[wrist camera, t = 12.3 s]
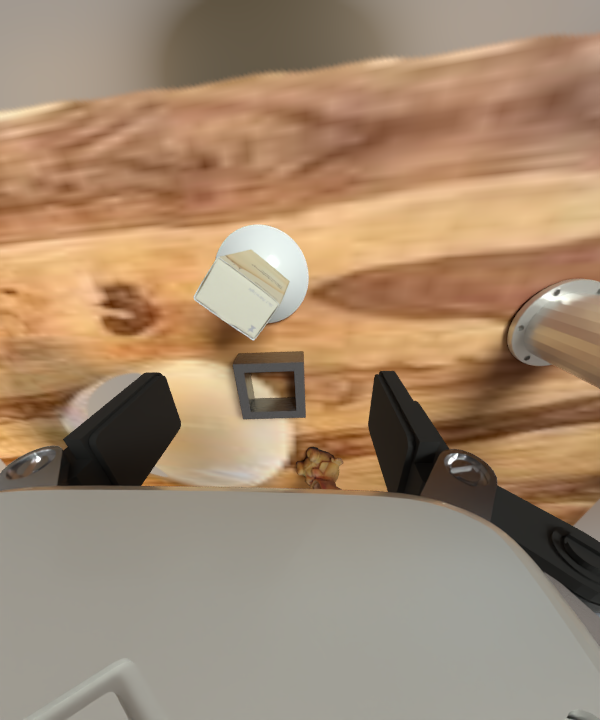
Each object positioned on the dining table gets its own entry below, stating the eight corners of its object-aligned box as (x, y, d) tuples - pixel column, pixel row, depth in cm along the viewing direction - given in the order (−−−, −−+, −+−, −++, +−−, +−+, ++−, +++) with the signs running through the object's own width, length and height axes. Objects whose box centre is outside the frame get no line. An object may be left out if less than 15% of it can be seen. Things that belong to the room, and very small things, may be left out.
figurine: (310, 439, 44) (337, 527, 32) (342, 443, 47) (378, 526, 35) (289, 470, 49) (305, 559, 36) (319, 473, 52) (344, 555, 39)
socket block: (303, 351, 36) (303, 362, 33) (305, 403, 41) (305, 417, 38) (238, 353, 36) (232, 364, 33) (247, 405, 41) (243, 419, 38)
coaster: (307, 222, 28) (307, 222, 27) (309, 319, 34) (309, 321, 33) (207, 227, 28) (204, 226, 28) (226, 322, 34) (224, 324, 33)
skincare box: (290, 280, 30) (284, 305, 20) (270, 307, 32) (255, 343, 21) (249, 247, 29) (218, 253, 18) (230, 277, 30) (191, 299, 19)
